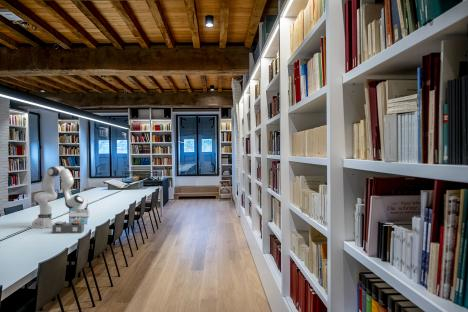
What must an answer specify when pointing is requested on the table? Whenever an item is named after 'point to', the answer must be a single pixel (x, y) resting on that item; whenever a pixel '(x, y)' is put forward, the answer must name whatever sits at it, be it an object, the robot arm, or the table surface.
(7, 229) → the table surface
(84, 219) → the gum box
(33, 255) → the table surface
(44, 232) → the table surface
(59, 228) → the switch block
